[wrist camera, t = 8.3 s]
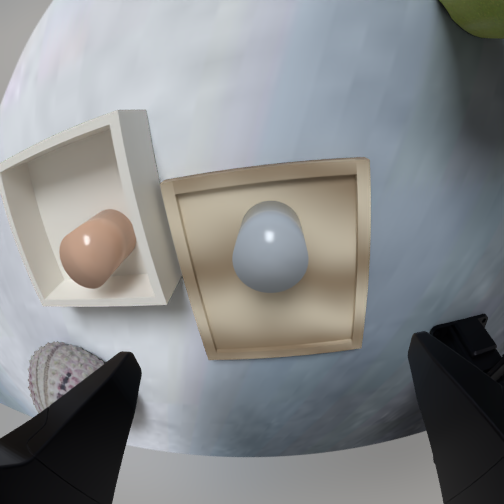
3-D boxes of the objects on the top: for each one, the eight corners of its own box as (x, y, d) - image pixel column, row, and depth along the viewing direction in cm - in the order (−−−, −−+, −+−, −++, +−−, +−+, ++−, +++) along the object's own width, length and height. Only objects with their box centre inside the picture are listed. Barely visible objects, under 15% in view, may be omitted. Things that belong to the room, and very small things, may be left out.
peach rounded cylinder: (142, 255, 19) (116, 287, 15) (100, 260, 19) (72, 289, 16) (128, 205, 17) (96, 228, 14) (85, 213, 18) (51, 236, 14)
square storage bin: (182, 274, 20) (167, 304, 17) (65, 282, 21) (42, 306, 18) (146, 109, 15) (117, 110, 12) (26, 155, 17) (-6, 166, 13)
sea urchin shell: (27, 343, 27) (-6, 387, 19) (82, 318, 23) (38, 379, 16) (94, 413, 31) (74, 457, 24) (165, 406, 28) (146, 466, 21)
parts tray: (358, 339, 22) (361, 348, 21) (210, 351, 23) (208, 360, 22) (364, 157, 16) (369, 159, 15) (165, 179, 17) (159, 183, 16)
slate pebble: (303, 253, 18) (310, 289, 14) (245, 259, 18) (238, 295, 15) (298, 197, 17) (306, 221, 13) (236, 204, 17) (226, 229, 13)
